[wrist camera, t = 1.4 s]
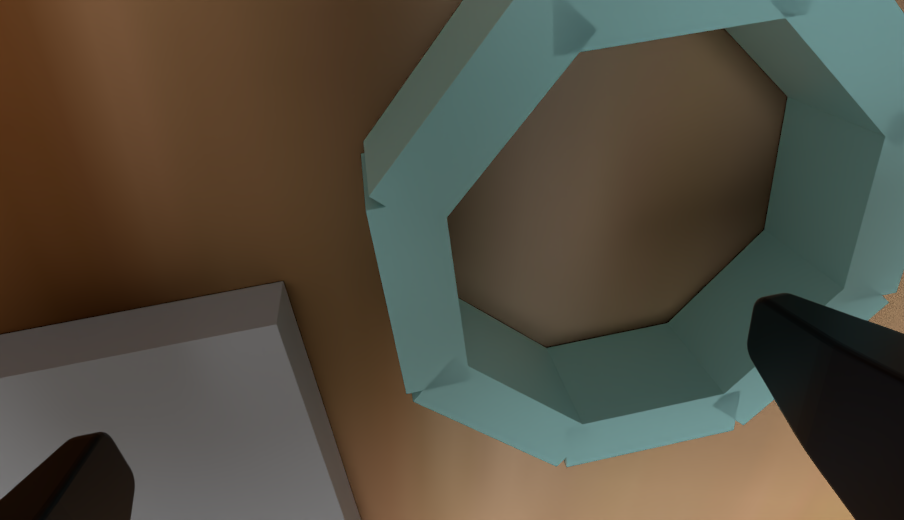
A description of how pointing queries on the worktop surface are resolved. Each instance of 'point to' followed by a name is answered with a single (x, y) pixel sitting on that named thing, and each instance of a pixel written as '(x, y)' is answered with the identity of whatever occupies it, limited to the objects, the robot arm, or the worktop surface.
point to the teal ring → (721, 301)
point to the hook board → (182, 407)
